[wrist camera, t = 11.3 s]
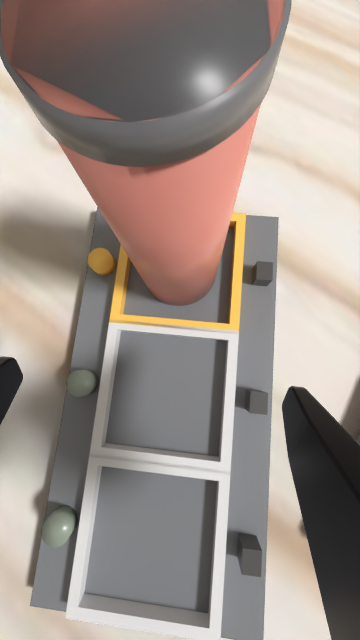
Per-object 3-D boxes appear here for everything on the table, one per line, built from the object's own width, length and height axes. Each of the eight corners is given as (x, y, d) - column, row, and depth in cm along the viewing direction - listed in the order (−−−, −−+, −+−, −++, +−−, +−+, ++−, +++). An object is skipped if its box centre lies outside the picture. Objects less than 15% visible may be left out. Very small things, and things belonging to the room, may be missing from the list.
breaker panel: (258, 625, 14) (269, 671, 12) (40, 590, 15) (15, 628, 13) (273, 225, 19) (284, 206, 16) (102, 213, 19) (91, 194, 17)
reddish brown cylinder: (151, 315, 17) (14, 163, 4) (134, 245, 18) (-20, -63, 5) (226, 296, 17) (336, 77, 4) (206, 227, 18) (241, -135, 5)
